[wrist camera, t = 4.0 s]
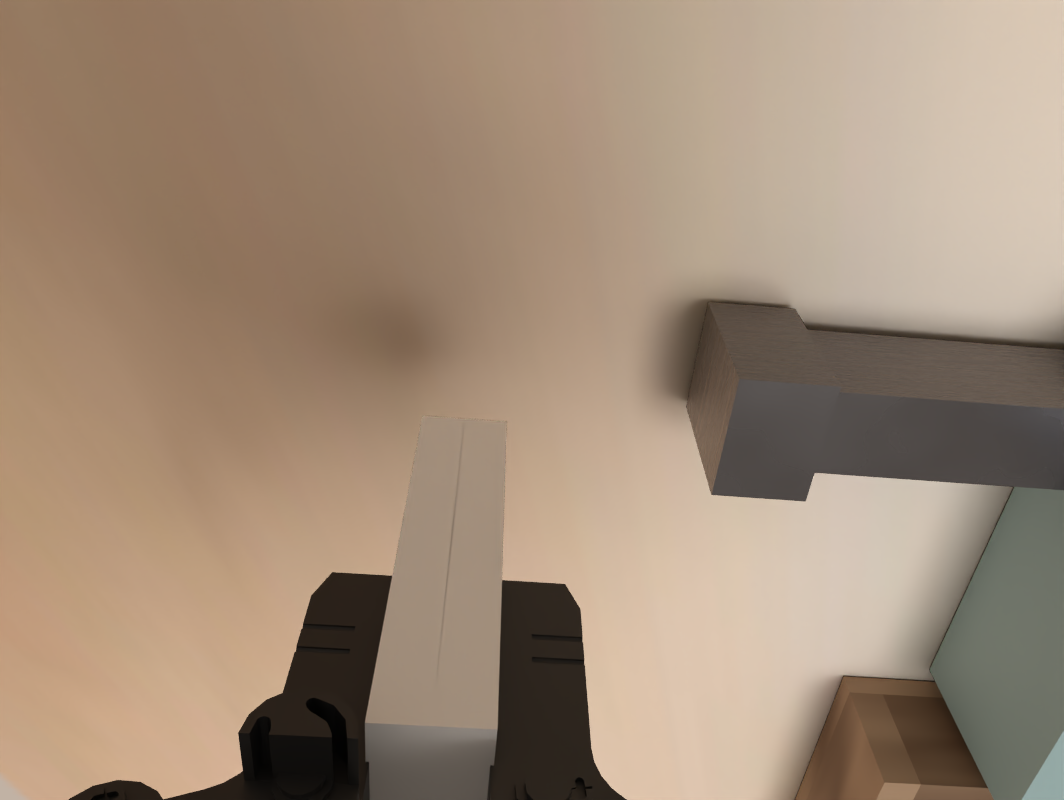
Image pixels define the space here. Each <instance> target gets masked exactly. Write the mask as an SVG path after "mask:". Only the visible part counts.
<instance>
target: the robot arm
mask: <svg viewBox="0 0 1064 800" xmlns="http://www.w3.org/2000/svg"><path fill="white" fill-rule="evenodd" d="M506 431H507V421H494V420H479V419H465V418H450V417H436V416H422V420H421V425H420V431H419V436H418V441H417V447H416V452H415V457H414V463H413V468H412V473H411V479H410V484H409V489H408V495H407V500H406V505H405V511H404V516H403V521H402V527H401V532H400V538H399V543H398V548H397V554H396V559H395V564H394V570H393V575H392V576H386V575H369V574H352V573H335V572H332V573H331V574H330V576H329V577H328V578H327V579H326V580H325V581H324V582H323V583H322V584H321V586H320V587H319V588H318V589H317V590H316V591H315V592H314V593H313V595H312V596H311V599H310V602H309V606H308V609H307V612H306V616H305V619H304V623H303V629H301V633H300V636H299V640H298V643H297V648H296V652H295V653H294V657H293V660H292V663H291V667H290V670H289V673H288V677H287V680H286V684H285V687H284V690H283V693H282V694H279V695H277V696H275V697H272V698H270V699H267V700H266V701H264V702H263V703H262V704H261V705H260V706H258V707H257V708H256V709H255V710H254V711H252V712H251V713H250V714H249V715H248V717H247V719H246V720H245V722H244V724H243V726H242V727H241V729H240V731H239V733H238V735H239V742H240V750H241V758H242V766H243V771H242V772H241V773H240V774H238V775H237V776H235V777H233V778H231V779H230V780H228V781H226V782H224V783H222V784H219V785H216V786H213V787H210V788H207V789H204V790H200V791H196V792H192V793H188V794H184V795H180V796H176V797H172V798H168V799H164V800H626V799H625V798H623V797H622V796H621V795H620V794H618V793H617V792H616V791H614V790H613V789H612V788H611V787H610V786H609V785H608V783H607V782H606V781H605V780H604V779H603V777H602V776H601V774H600V772H599V771H598V769H597V767H596V765H595V763H594V759H593V754H592V750H591V740H590V727H589V714H588V702H587V689H586V676H585V665H584V650H583V642H582V625H581V612H580V608H579V606H578V605H577V603H576V601H575V600H574V598H573V596H572V595H571V593H570V592H569V590H568V588H567V587H566V585H565V584H555V583H538V582H522V581H505V580H502V564H503V531H504V497H505V464H506ZM69 800H163V799H162V797H161V796H160V794H159V793H158V791H156V790H154V789H152V788H151V787H149V786H147V785H145V784H143V783H141V782H134V781H122V780H116V781H112V782H108V783H104V784H99V785H95V786H92V787H90V788H88V789H87V790H85V791H83V792H81V793H79V794H77V795H76V796H74V797H72V798H70V799H69Z"/></svg>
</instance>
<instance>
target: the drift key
mask: <svg viewBox="0 0 1064 800" xmlns="http://www.w3.org/2000/svg"><path fill="white" fill-rule="evenodd" d="M686 408H687V411H688V414H689V418H690V421H691V425H692V428H693V432H694V435H695V439H696V442H697V446H698V449H699V453H700V456H701V460H702V463H703V467H704V470H705V474H706V477H707V481H708V484H709V488H710V491H711V495H722V496H736V497H751V498H765V499H780V500H794V501H806V498H807V495H808V492H809V488H810V485H811V482H812V479H813V476H814V473H827V474H841V475H855V476H869V477H883V478H897V479H912V480H926V481H940V482H954V483H968V484H982V485H996V486H1010V487H1024V488H1038V489H1052V490H1064V350H1061V349H1048V348H1035V347H1022V346H1010V345H997V344H984V343H971V342H959V341H946V340H933V339H921V338H908V337H895V336H882V335H870V334H857V333H844V332H831V331H819V330H807V328H806V327H805V325H804V323H803V322H802V320H801V318H800V317H799V315H798V313H797V311H796V310H795V309H791V308H778V307H766V306H753V305H741V304H728V303H715V302H708V305H707V310H706V315H705V319H704V324H703V329H702V334H701V339H700V343H699V348H698V353H697V358H696V362H695V367H694V372H693V377H692V382H691V386H690V391H689V396H688V401H687V405H686Z"/></svg>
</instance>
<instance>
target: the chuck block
mask: <svg viewBox="0 0 1064 800" xmlns="http://www.w3.org/2000/svg"><path fill="white" fill-rule="evenodd" d="M930 672H931V674H932V676H933V678H934V680H935V682H936V684H937V686H938V688H939V690H940V692H941V694H942V696H943V698H944V700H945V702H946V704H947V706H948V708H949V710H950V712H951V714H952V716H953V718H954V720H955V722H956V724H957V726H958V728H959V730H960V733H961V735H962V737H963V739H964V741H965V743H966V745H967V747H968V749H969V751H970V753H971V755H972V757H973V759H974V761H975V763H976V765H977V767H978V769H979V771H980V773H981V775H982V777H983V779H984V781H985V783H986V785H987V787H988V789H989V791H990V793H991V795H992V797H993V799H994V800H1064V490H1052V489H1038V488H1024V487H1014V489H1013V491H1012V493H1011V495H1010V497H1009V499H1008V502H1007V504H1006V506H1005V508H1004V510H1003V512H1002V515H1001V517H1000V519H999V521H998V523H997V525H996V527H995V530H994V532H993V534H992V536H991V538H990V540H989V543H988V545H987V547H986V549H985V551H984V553H983V556H982V558H981V560H980V562H979V564H978V566H977V568H976V571H975V573H974V575H973V577H972V579H971V581H970V584H969V586H968V588H967V590H966V592H965V594H964V597H963V599H962V601H961V603H960V605H959V607H958V609H957V612H956V614H955V616H954V618H953V620H952V622H951V625H950V627H949V629H948V631H947V633H946V635H945V637H944V640H943V642H942V644H941V646H940V648H939V650H938V653H937V655H936V657H935V659H934V661H933V663H932V666H931V668H930Z"/></svg>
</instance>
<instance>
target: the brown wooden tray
mask: <svg viewBox="0 0 1064 800" xmlns="http://www.w3.org/2000/svg"><path fill="white" fill-rule="evenodd" d="M795 800H994V799H993V797H992V795H991V793H990V791H989V789H988V787H987V785H986V783H985V781H984V779H983V777H982V775H981V773H980V771H979V769H978V767H977V765H976V763H975V761H974V759H973V757H972V755H971V753H970V751H969V749H968V747H967V745H966V743H965V741H964V739H963V737H962V735H961V733H960V730H959V728H958V726H957V724H956V722H955V720H954V718H953V716H952V714H951V712H950V710H949V708H948V706H947V704H946V702H945V700H944V698H943V696H942V694H941V692H940V690H939V688H938V686H937V684H936V682H928V681H912V680H895V679H879V678H862V677H845V676H844V677H843V679H842V682H841V684H840V687H839V689H838V692H837V694H836V697H835V700H834V702H833V705H832V707H831V710H830V712H829V715H828V717H827V720H826V722H825V725H824V728H823V730H822V733H821V735H820V738H819V740H818V743H817V745H816V748H815V750H814V753H813V756H812V758H811V761H810V763H809V766H808V768H807V771H806V773H805V776H804V778H803V781H802V784H801V786H800V789H799V791H798V794H797V796H796V799H795Z"/></svg>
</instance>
